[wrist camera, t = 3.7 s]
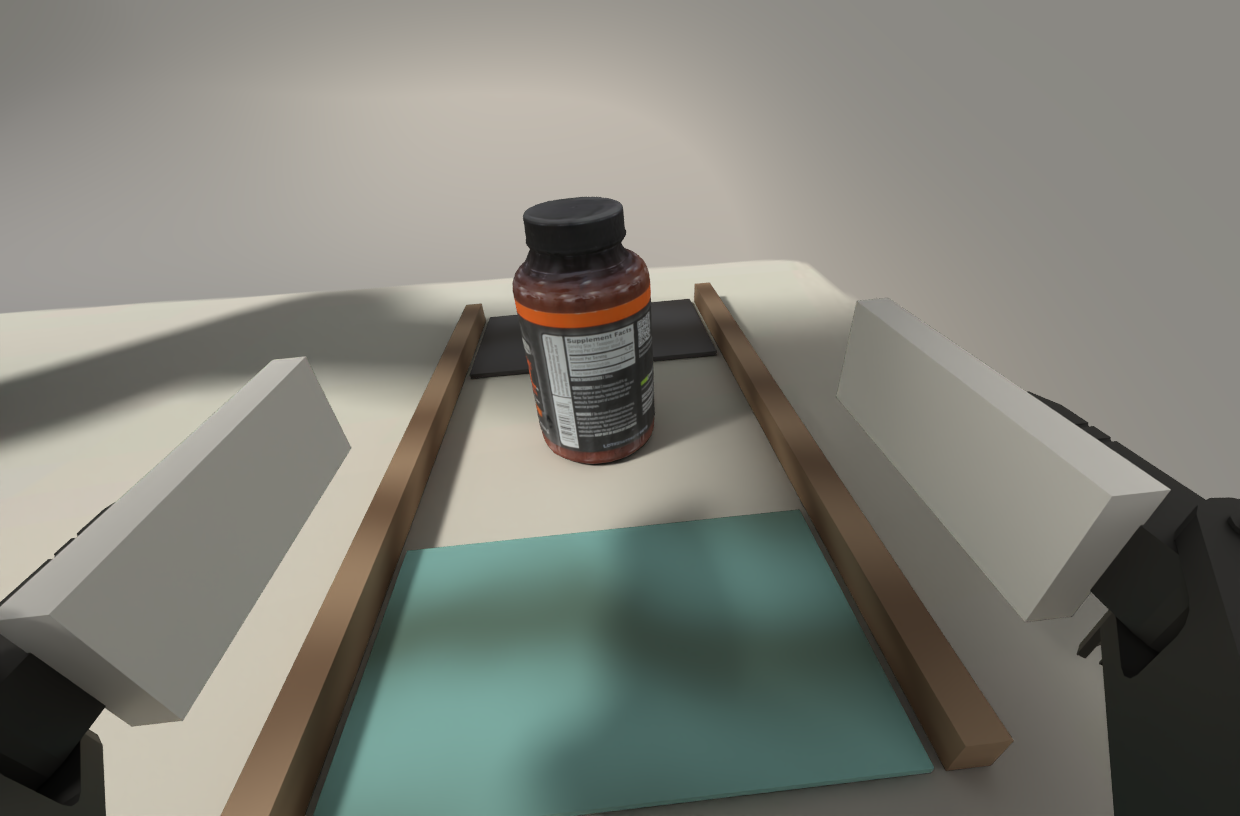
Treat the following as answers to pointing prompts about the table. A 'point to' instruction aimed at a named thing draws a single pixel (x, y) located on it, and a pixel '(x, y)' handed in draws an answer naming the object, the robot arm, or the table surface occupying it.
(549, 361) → the supplement bottle
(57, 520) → the table surface
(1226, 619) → the robot arm
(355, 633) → the channel track
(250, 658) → the table surface
